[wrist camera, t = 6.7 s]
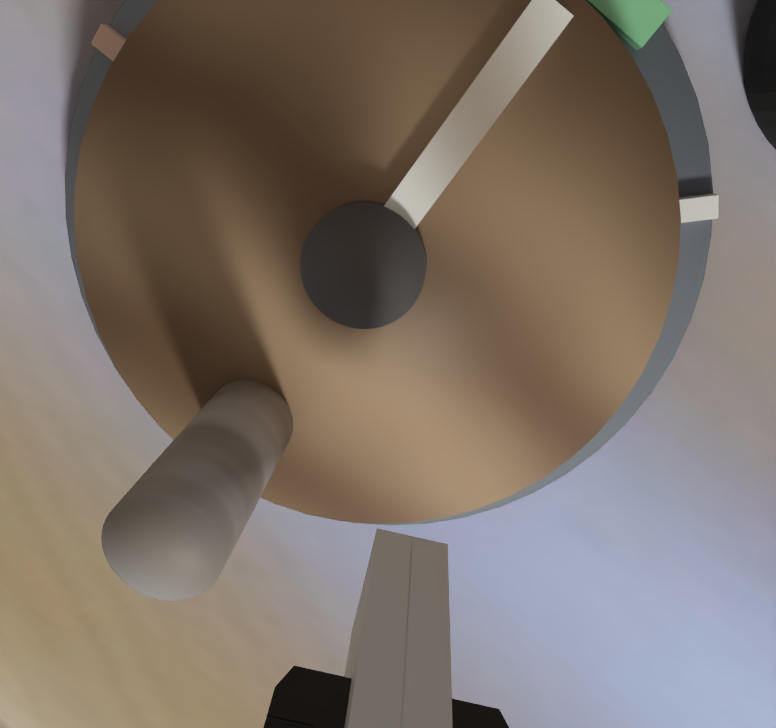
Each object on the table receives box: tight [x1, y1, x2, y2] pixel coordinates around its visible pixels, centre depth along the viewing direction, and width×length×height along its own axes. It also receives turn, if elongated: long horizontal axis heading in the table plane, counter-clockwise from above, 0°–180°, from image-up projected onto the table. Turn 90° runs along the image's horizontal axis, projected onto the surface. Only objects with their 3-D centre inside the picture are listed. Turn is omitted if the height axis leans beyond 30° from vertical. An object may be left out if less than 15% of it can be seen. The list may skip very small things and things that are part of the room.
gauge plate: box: [65, 0, 719, 525], centre depth 19 cm, size 18×18×2 cm
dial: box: [74, 0, 681, 601], centre depth 15 cm, size 15×15×8 cm
